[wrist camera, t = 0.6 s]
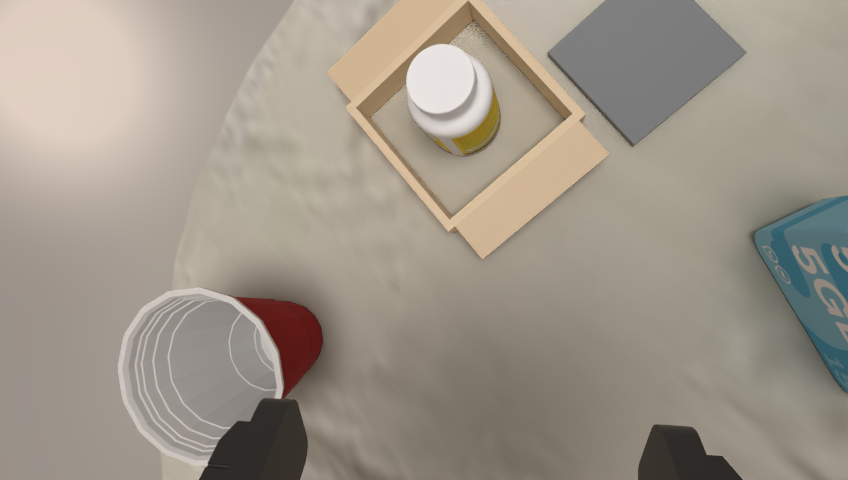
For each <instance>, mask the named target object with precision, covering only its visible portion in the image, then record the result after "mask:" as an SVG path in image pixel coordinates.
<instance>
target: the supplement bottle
mask: <svg viewBox="0 0 848 480" xmlns="http://www.w3.org/2000/svg"><path fill="white" fill-rule="evenodd" d="M406 86H407V91H408V93H407V100H408V107H409V110H410V113H411V115H412V117H413V119H414V120H415V122H416V123H417V124H418V125H419V127H420V128H421V129H422V130H424V132H425V133H427V134H428V135H429V137H431V138H432V139H433V140H434V142H436V143H437V144H438V145H439V146H440V147H441V148H442V149H444V150H445V151H447V152H449V153H451V154H454V155H459V156H466V155H472V154H475V153H478V152H480V151H482V150H483V149H485V148H486V147H487V146H488V145H489V144H490V143H491V142H492V141H493V140H494V138H495V136H496V135H497V132H498V130H499V126H500V108H499V105H498V101H497V98H496V95H495V92H494V88H493V85H492V82H491V79H490V76H489V74H488V72H487V71H486V69H485V68H484V66H483V65H482V64H481V63H480V62H479V61H478V60H477V59H476V58H474V57H473V56H471V55H469V54H466V53H465V52H464V51H462V50H461V49H459V48H458V47H455V46H453V45H449V44H437V45H433V46H430V47H428V48H426V49H424V50H423V51H421V52H420V53H419V54H418V55H417V56H416V57H415V58H414V59H413V61H412V62H411V64H410V66H409V69H408V72H407V77H406Z"/></svg>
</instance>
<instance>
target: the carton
mask: <svg viewBox="0 0 848 480" xmlns="http://www.w3.org/2000/svg"><path fill="white" fill-rule="evenodd" d="M473 20H475V21H476V22H477V23H478V24H479V26H480V27H481V28H482V29H483V30H484V31H485V32H486V33H487V34H488V35H489V36H490V38H491V39H492V40H493V41H494V42H495V43H496V44H497V45H498V46H499V47H500V48H501V50H502V51H503V52H504V53H505V54H506V55H507V56H508V57H509V58H510V59H511V61H512V62H513V63H514V64H515V65H516V66H517V67H518V68H519V69H520V70H521V71H522V73H523V74H524V75H525V76H526V77H527V78H528V79H529V80H530V81H531V82H532V83H533V85H534V86H535V87H536V88H537V89H538V90H539V91H540V92H541V93H542V94H543V95H544V97H545V98H546V99H547V100H548V101H549V102H550V103H551V104H552V105H553V106H554V107H555V109H556V110H557V111H558V112H559V113H560V114H561V115H562V116H563V117H564V118H565V121H564V122H562V123H561V124H560V125H559V126H558V127H557V128H555V129H554V130H553V131H552V132H551V133H550V134H548V135H547V136H546V137H545V138H544V139H543V140H542V141H540V142H539V143H538V144H537V145H536V146H535V147H533V148H532V149H531V150H530V151H529V152H528V153H526V154H525V155H524V156H523V157H522V158H521V159H519V160H518V161H517V162H516V163H515V164H514V165H512V166H511V167H510V168H509V169H508V170H507V171H506V172H504V173H503V174H502V175H501V176H500V177H499V178H497V179H496V180H495V181H494V182H493V183H492V184H490V185H489V186H488V187H487V188H486V189H485V190H483V191H482V192H481V193H480V194H479V195H478V196H476V197H475V198H474V199H473V200H472V201H471V202H469V203H468V204H467V205H466V206H465V207H464V208H463V209H461V210H460V211H459V212H458V213H457V214H456V215H454V216H453V217H452V216H451V214H450V213H449V212H448V211H447V210H446V208H445V207H444V206H443V205H442V204H441V202H440V201H439V200H438V199H437V198H436V196H435V195H434V194H433V193H432V192H431V190H430V189H429V188H428V187H427V186H426V184H425V183H424V182H423V181H422V180H421V179H420V177H419V176H418V175H417V174H416V173H415V171H414V170H413V169H412V168H411V167H410V165H409V164H408V163H407V162H406V161H405V159H404V158H403V157H402V156H401V155H400V153H399V152H398V151H397V150H396V149H395V147H394V146H393V145H392V144H391V143H390V141H389V140H388V139H387V138H386V137H385V135H384V134H383V133H382V132H381V131H380V129H379V128H378V127H377V126H376V125H375V123H374V122H373V121H372V120H371V119H370V117H371V116H372V115H373V114H374V113H375V112H376V111H377V110H378V109H379V108H380V107H381V106H383V105H384V104H385V103H386V102H387V101H388V100H389V99H390V98H391V97H392V96H393V95H394V94H395V93H396V92H397V91H398V90H400V89H401V88H402V87H403V86H404V85H405V84H406V77H407V72H408V69H409V66H410V64H411V62H412V61H413V59H414V58H415V57H416V56H417V55H418V54H419V53H420V52H421V51H423V50H424V49H426V48H428V47H430V46H433V45H437V44H448V43H449V42H450V41H451V40H452V39H454V38H455V37H456V36H457V35H458V34H459V33H460V32H461V31H462V30H463V29H464V28H465V27H466V26H467V25H468V24H469V23H471V22H472V21H473ZM327 74H328V75H329V76H330V77H331V78H332V80H333V81H334V82H335V83H336V84H337V86H338V87H339V88H340V89H341V90H342V92H343V93H344V94H345V95H346V96H347V98H348V99H349V100H350V101H351V102H350V103H349V104H348V105H347V106H346V107H345V108H346V109H347V110H348V111H349V113H350V114H351V115H352V116H353V117H354V119H355V120H356V121H357V122H358V124H359V125H360V126H361V127H362V128H363V130H364V131H365V132H366V133H367V134H368V136H369V137H370V138H371V139H372V140H373V142H374V143H375V144H376V145H377V146H378V148H379V149H380V150H381V151H382V152H383V154H384V155H385V156H386V157H387V158H388V160H389V161H390V162H391V163H392V165H393V166H394V167H395V168H396V169H397V171H398V172H399V173H400V174H401V175H402V177H403V178H404V179H405V180H406V181H407V183H408V184H409V185H410V186H411V187H412V189H413V190H414V191H415V192H416V193H417V195H418V196H419V197H420V198H421V199H422V201H423V202H424V203H425V204H426V205H427V207H428V208H429V209H430V210H431V212H432V213H433V214H434V215H435V216H436V218H437V219H438V220H439V221H440V222H441V224H442V225H443V226H444V227H445V228H446V230H447V231H448V232H457V231H459V232H460V233H461V234H462V235H463V237H464V238H465V239H466V240H467V241H468V243H469V244H470V245H471V246H472V247H473V249H474V250H475V251H476V252H477V253H478V255H479V256H480V257H481V258H482V259H484V258H485V257H486V256H488V255H489V254H490V253H491V252H492V251H494V250H495V249H496V248H497V247H498V246H500V245H501V244H502V243H503V242H504V241H506V240H507V239H508V238H509V237H510V236H512V235H513V234H514V233H515V232H516V231H518V230H519V229H520V228H521V227H522V226H524V225H525V224H526V223H527V222H529V221H530V220H531V219H532V218H533V217H535V216H536V215H537V214H538V213H539V212H541V211H542V210H543V209H544V208H545V207H547V206H548V205H549V204H550V203H551V202H553V201H554V200H555V199H556V198H557V197H559V196H560V195H561V194H562V193H563V192H565V191H566V190H567V189H568V188H569V187H571V186H572V185H573V184H574V183H576V182H577V181H578V180H579V179H580V178H582V177H583V176H584V175H585V174H586V173H588V172H589V171H590V170H591V169H592V168H594V167H595V166H596V165H597V164H598V163H600V162H601V161H602V160H603V159H604V158H606V157H607V156H608V155H609V153H608V152H607V150H606V149H605V148H604V147H603V146H602V145H601V144H600V143H599V142H598V141H597V140H596V139H595V137H594V136H593V135H592V134H591V133H590V132H589V131H588V130H587V129H586V128H585V127H584V126H583V124H582V123H583V121H584V118H585V116H586V114H585V112H584V111H583V110H582V109H581V108H580V107H579V106H578V105H577V104H576V103H575V102H574V101H573V99H572V98H571V97H570V96H569V95H568V94H567V93H566V92H565V91H564V90H563V89H562V88H561V86H560V85H559V84H558V83H557V82H556V81H555V80H554V79H553V78H552V77H551V76H550V75H549V74H548V72H547V71H546V70H545V69H544V68H543V67H542V66H541V65H540V64H539V63H538V62H537V61H536V59H535V58H534V57H533V56H532V55H531V54H530V53H529V52H528V51H527V50H526V49H525V48H524V47H523V45H522V44H521V43H520V42H519V41H518V40H517V39H516V38H515V37H514V36H513V35H512V34H511V32H510V31H509V30H508V29H507V28H506V27H505V26H504V25H503V24H502V23H501V22H500V21H499V20H498V18H497V17H496V16H495V15H494V14H493V13H492V12H491V11H490V10H489V9H488V8H487V7H486V5H485V4H484V3H483V2H482V1H481V0H400V1H399V2H398V3H397V4H396V5H395V6H393V7H392V8H391V9H390V10H389V11H388V12H387V13H386V14H385V15H384V16H383V17H382V18H381V19H380V20H379V21H378V22H377V23H376V24H375V25H374V26H373V27H372V28H371V29H370V30H369V31H368V32H367V33H366V34H365V35H364V36H363V37H362V38H361V39H360V40H359V41H358V42H357V43H356V44H355V45H354V46H353V47H352V48H351V49H350V50H349V51H348V52H347V53H346V54H345V55H344V56H343V57H342V58H341V59H340V60H339V61H338V62H337V63H336V64H335V65H334V66H333V67H332V68H331V69H330V70H329V71H328V72H327Z"/></svg>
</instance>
